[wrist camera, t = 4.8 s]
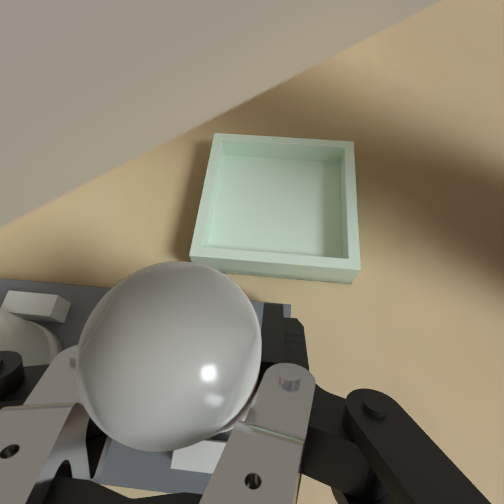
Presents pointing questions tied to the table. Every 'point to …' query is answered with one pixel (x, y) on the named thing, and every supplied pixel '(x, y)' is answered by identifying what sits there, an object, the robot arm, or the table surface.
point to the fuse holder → (119, 456)
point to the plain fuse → (28, 340)
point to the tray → (279, 209)
